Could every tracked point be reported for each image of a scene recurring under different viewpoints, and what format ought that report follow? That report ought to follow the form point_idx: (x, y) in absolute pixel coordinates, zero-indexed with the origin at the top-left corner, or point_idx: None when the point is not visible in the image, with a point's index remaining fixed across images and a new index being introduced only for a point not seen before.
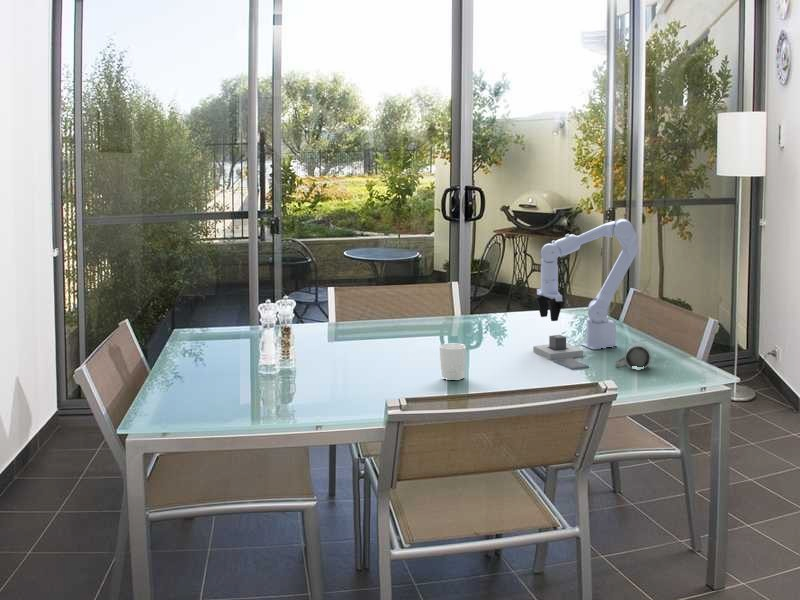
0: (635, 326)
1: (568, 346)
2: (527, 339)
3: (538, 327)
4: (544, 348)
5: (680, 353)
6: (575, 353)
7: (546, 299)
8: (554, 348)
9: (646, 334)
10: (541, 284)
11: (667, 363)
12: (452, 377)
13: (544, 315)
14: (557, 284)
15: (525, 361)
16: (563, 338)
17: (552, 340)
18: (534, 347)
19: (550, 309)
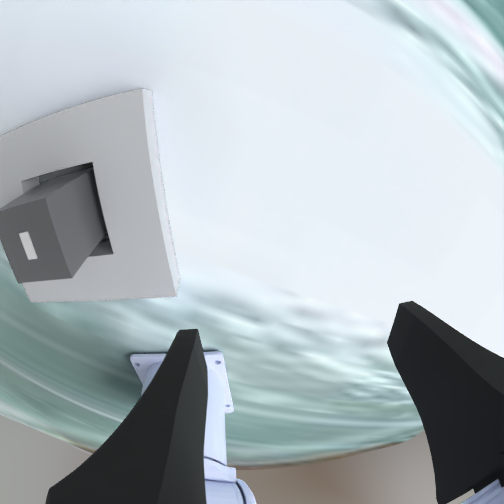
0: (353, 454)
1: (92, 277)
2: (429, 187)
3: (501, 296)
4: (67, 140)
5: (96, 446)
6: None
7: (455, 465)
8: (34, 189)
9: (279, 462)
10: None
11: (15, 398)
12: None
13: (397, 333)
14: None
15: (12, 29)
16: (14, 263)
17: (27, 198)
18: (128, 91)
19: (146, 430)
